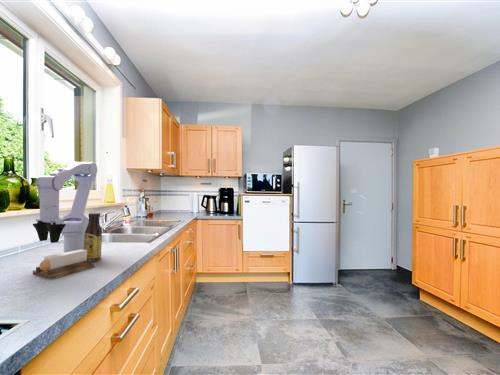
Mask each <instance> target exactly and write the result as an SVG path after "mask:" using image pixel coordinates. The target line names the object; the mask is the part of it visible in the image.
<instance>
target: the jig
mask: <svg viewBox="0 0 500 375" xmlns="http://www.w3.org/2000/svg"><path fill="white" fill-rule="evenodd" d="M92 268H96V264H95V263H93V262H92V260H91V259H89V260H85V261H81V262H78V263H74V264H70V265H66V266H62V267H58V268H54V269H50V270H47V272H45V271H43V270H41V269H40V265H39V266H36V267H35V269H34V270H32V274H33V275H36V276H39V277H44V278H46V279H51V280H54V279H58V278H61V277H64V276H68V275H72V274H74V273H79V272H81V271H85V270H88V269H92Z"/></svg>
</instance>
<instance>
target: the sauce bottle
mask: <svg viewBox="0 0 500 375" xmlns="http://www.w3.org/2000/svg"><path fill="white" fill-rule="evenodd" d="M87 216H88V217H87V218H88V219H89V222H88V226H87V228H86V230H85V233H84V250H87V260H89V259H91V260H92V263H93V262H98V261H100V260H101V257H102V242H103V228H102V227H101V225H100V217H101V213H100V212H89V213H88V215H87Z"/></svg>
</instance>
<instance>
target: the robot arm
mask: <svg viewBox="0 0 500 375" xmlns="http://www.w3.org/2000/svg"><path fill="white" fill-rule="evenodd" d="M97 173H98V166H97V164H96V163H95V162H94V161H90V162H89V161H72V162H70V163H69V165H68V166H67V167H65V168H62V167H58V168H56V170H55V171H53V172H50V173H49V174H48V175H41V176H39V177H38V178H37V179H36V182H35V186H36V188H37V193H38V195H39V216H36V217H35V222H36V223H32V226H33V228H34V229H35V231H36V233H37V236H38V239H39V242H44V241H48V237H49V241H50V243H51V244H55V243H58V242H60V241H59V240H60V237H61V236H63V253H65V252H70V251H75V250H79V249H82V250H84V233H85V230H86V228H87V226H88V222H89V217H87V215H85V211H86V207H87V203H88V199H89V197H90V196H89V195H90V191H91V188H92V184H93V182H94V181H96V178H97ZM72 177H73V179H74V180H75V181H76V182H78V185H77V187H76V188H77V189H76V192H75V196H74V199H73V202H72V206H71V210H70V212H69V213H67V214H66V215H64V216H63V217H60V191H61V190H62V189H63V187H64V185H65V184H66V183H68V181H70V180H71V179H72Z"/></svg>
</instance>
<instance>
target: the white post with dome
mask: <svg viewBox="0 0 500 375" xmlns="http://www.w3.org/2000/svg"><path fill="white" fill-rule="evenodd" d="M85 260H87V250H82V249H79V250H75V251H70V252H65V253H64V252H60V253H57V254H52V255H48V256H44V257H43V260H42V261H41V262H40V263H39V266H40V269H41V270H43V271H45V272H47V270H50V269H54V268H58V267H62V266H66V265H70V264H74V263H78V262H81V261H85Z"/></svg>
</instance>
